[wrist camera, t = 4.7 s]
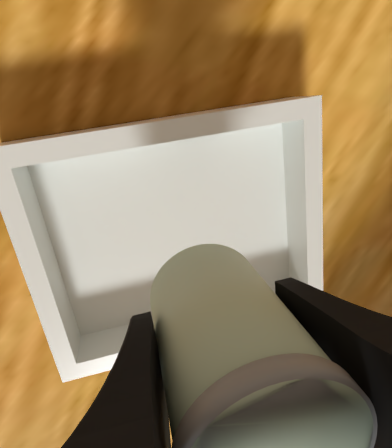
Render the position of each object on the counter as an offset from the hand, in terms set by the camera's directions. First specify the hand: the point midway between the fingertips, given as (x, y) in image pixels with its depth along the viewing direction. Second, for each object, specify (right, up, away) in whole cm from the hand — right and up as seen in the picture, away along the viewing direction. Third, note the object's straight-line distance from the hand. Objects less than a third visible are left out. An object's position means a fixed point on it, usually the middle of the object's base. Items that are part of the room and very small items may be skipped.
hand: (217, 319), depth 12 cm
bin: (-2, +3, +9) cm, 10 cm away
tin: (0, 0, +2) cm, 2 cm away
